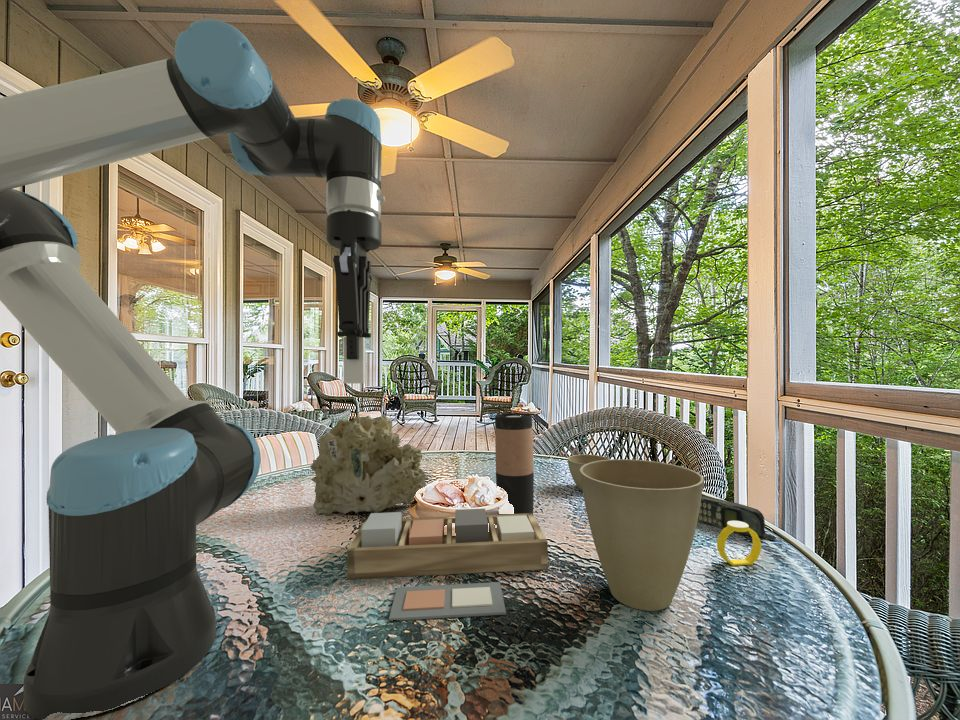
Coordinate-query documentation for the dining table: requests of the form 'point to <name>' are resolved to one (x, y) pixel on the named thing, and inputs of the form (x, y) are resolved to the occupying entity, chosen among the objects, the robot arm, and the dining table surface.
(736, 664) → the dining table surface
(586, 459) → the flower pot
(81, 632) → the robot arm
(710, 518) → the mobile phone
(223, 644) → the dining table surface
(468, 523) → the grey rectangular block
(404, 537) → the wooden compartment tray
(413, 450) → the coral
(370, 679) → the dining table surface
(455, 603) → the card
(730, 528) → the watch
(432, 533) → the key terracotta
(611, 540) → the plant pot
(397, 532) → the key bluegrey
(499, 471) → the travel mug
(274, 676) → the dining table surface
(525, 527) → the cream rectangular block
